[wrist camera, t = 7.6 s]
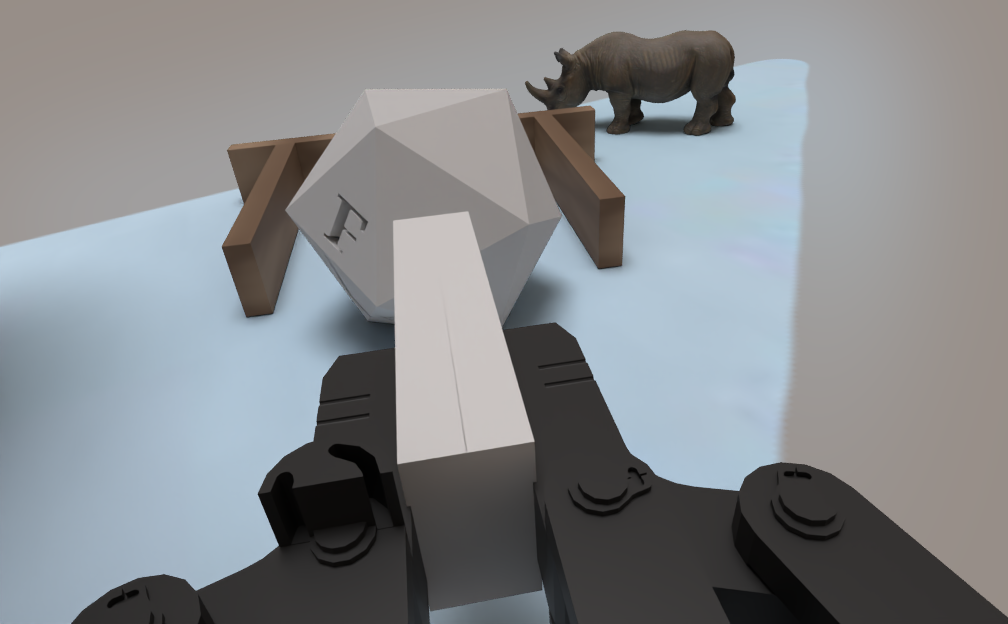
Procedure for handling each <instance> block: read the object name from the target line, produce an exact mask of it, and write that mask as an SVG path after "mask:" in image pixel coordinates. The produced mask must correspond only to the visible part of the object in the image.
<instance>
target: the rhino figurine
mask: <svg viewBox="0 0 1008 624" xmlns="http://www.w3.org/2000/svg"><path fill="white" fill-rule="evenodd" d="M554 55H555V57H556V59H557V61H558V62H560V63H561V64H562V65H563V66H562V74H561V76H560V78H559V79H557V80H553V79H550V78H546V77H545V78H544V81H545V82H546V84H547V86H548V90H541V89H537V88H535V87H533V86H532V85H531V84H530V83H529V82H528V81H526V82H525V85H526V87H527V89H528V91H529V92H530V93H531V95H532V96H534V97H535V98H536V99H538V100H539V101H541V102H542V103H544V104H545V105H546V107H547V110H555V109H564V108H573V107H577V106H578V105H580V104H581V103H582V102H583V101H584V100H585V98H586V96H587V95H588V93H589V91H590V90H595V91H597V90H603V91H606V92H607V93H608V95H609V99H610V103H611V105H612V106H613V109H614V114H615V117H614V120H613V122H612V123H611V124H610V126H609V127H608V129H607V133H609V134H622V133H626V132H628V131H629V129H630V125H632V124H635V123H637V122H639V121H641V120H642V119H643V117H644V114H643V112H642V111H641V110H640V106H641V100H643V101H647V102H652V103H665V102H669V101H672V100H674V99H677V98H679V97H681V96H683V95H685V94H687V93H688V92H689V91H691V92H692V95H693V97H694V98H695V99H696V100H697V105H696V110H695V113H694V116H693V118H692V120H691V121H690V122H689V123H688V124H687V125H686V126H685V127H684V133H685V134H693V135H701V134H704V133H708V132H709V131H710V130H711V125H713V126H724V125H730V124H732V123H733V122H734V118H733V117H732V115H731V107H732V105H733V104H734V103H735V101H736V98H735V95H734V94H733V93H732V91H731V90H730V89H729V88H728V84H729V81H731V80H732V78H733V77H734V70H733V66H734V58H735V56H734V50H733V48H732V46H731V44H730V43H729V42H728V41H727V39H726V38H725V37H723V36H722V35H721V34H719V33H718V32H716V31H686V30H685V31H679V32H675V33H672V34H670V35H667V36H664V37H660V38H655V39H645V38H640V37H637V36H635V35H633V34H629V33H625V32H611V33H608V34H605V35H603V36H601V37H599V38H597V39H595V40H594V41H592V42H591V43H589V44H587V45H586V46H585V47H583V48H582V49H580V50H577V51H576V52H575V53H574V54H572V55H571V54H570V53H568V52H567V51H565V50H564V49H563V48H560V50H559V53H558V52H554ZM710 124H711V125H710Z"/></svg>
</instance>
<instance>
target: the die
mask: <svg viewBox="0 0 1008 624" xmlns="http://www.w3.org/2000/svg"><path fill="white" fill-rule="evenodd" d="M285 211H286V212H287V213H288V215H289V216H290V217H291V219H292V220H293V222H294V223H295V224H296V226H297V227H298V228H299V230H300V231H301V232H302V234H303V235H304V236H305V238H306V239H307V240H308V242H309V243H310V244H311V246H312V247H313V248H314V250H315V251H316V252H317V254H318V255H319V256H320V258H321V259H322V260H323V262H324V263H325V264H326V266H327V267H328V268H329V270H330V271H331V272H332V274H333V275H334V276H335V278H336V279H337V281H338V282H339V283H340V285H341V286H342V287H343V289H344V290H345V291H346V293H347V294H348V295H349V297H350V298H351V299H352V301H353V302H354V303H355V305H356V306H357V307H358V309H359V310H360V311H361V313H362V314H363V315H364V317H365V318H366V319H367V321H372V322H381V323H390V324H395V305H394V246H393V221H394V220H402V219H410V218H418V217H426V216H434V215H442V214H450V213H458V212H466V211H468V212H469V216H470V219H471V223H472V226H473V230H474V233H475V237H476V240H477V243H478V247H479V250H480V254H481V257H482V261H483V264H484V268H485V271H486V275H487V278H488V282H489V285H490V289H491V292H492V296H493V299H494V303H495V306H496V309H497V313H498V316H499V320H500V323H501V327H502V326H503V325H504V323H505V321H506V319H507V317H508V315H509V313H510V312H511V310H512V308H513V306H514V304H515V302H516V301H517V299H518V297H519V295H520V293H521V291H522V289H523V288H524V286H525V284H526V282H527V280H528V278H529V276H530V275H531V273H532V271H533V269H534V267H535V265H536V263H537V262H538V260H539V258H540V256H541V254H542V252H543V250H544V249H545V247H546V245H547V243H548V241H549V239H550V237H551V236H552V234H553V232H554V230H555V228H556V226H557V224H558V223H559V221H560V219H561V217H562V215H561V213H560V211H559V208H558V206H557V204H556V201H555V199H554V197H553V194H552V192H551V190H550V188H549V185H548V183H547V181H546V178H545V176H544V174H543V171H542V169H541V167H540V165H539V162H538V160H537V158H536V155H535V153H534V151H533V148H532V146H531V144H530V142H529V139H528V137H527V135H526V132H525V130H524V128H523V125H522V123H521V121H520V118H519V116H518V114H517V112H516V109H515V107H514V105H513V103H512V100H511V98H510V95H509V93H508V91H507V89H365V90H364V92H363V93H362V95H361V96H360V98H359V100H358V101H357V102H356V104H355V105H354V107H353V108H352V110H351V111H350V113H349V115H348V116H347V118H346V119H345V121H344V122H343V124H342V125H341V127H340V128H339V130H338V131H337V133H336V134H335V136H334V137H333V139H332V140H331V142H330V143H329V145H328V146H327V148H326V149H325V151H324V152H323V154H322V155H321V157H320V158H319V160H318V161H317V163H316V164H315V166H314V167H313V169H312V170H311V172H310V174H309V175H308V177H307V178H306V180H305V181H304V183H303V184H302V186H301V187H300V189H299V190H298V192H297V193H296V195H295V196H294V198H293V199H292V201H291V202H290V204H289V205H288V207H287V208H286V210H285Z"/></svg>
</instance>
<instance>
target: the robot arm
mask: <svg viewBox="0 0 1008 624" xmlns="http://www.w3.org/2000/svg"><path fill="white" fill-rule="evenodd" d="M393 246H394V305H395V348H391V349H384V350H377V351H370V352H363V353H356V354H349V355H342V356H339V357H338V358H337V359H336V361H335V362H334V363H333V365H332V366H331V368H330V369H329V370H328V372H327V373H326V374H325V376H324V377H323V380H322V387H321V394H320V401H319V402H320V406H319V407H318V414H317V426H316V428H315V435H314V442H310V443H307V444H305V445H303V446H302V447H300V448H298V449H296V450H295V451H293V452H291V453H290V454H288V455H286V456H284V457H283V458H282V459H281V460H280V461H279V462H278V463H277V464H276V465H275V466H274V468H273V469H272V470H271V471H270V472H269V473H268V474H267V475H266V477H265V479H264V482H263V484H262V486H261V488H260V490H259V492H258V496H259V499H260V501H261V503H262V506H263V508H264V511H265V513H266V515H267V518H268V520H269V523H270V525H271V527H272V530H273V532H274V535H275V537H276V539H277V542H278V544H279V546H278V547H277V548H275V549H274V550H273V551H272V552H270V553H269V554H268V555H267V556H265V557H264V558H263V559H261V560H259V561H258V562H256V563H254V564H252V565H250V566H249V567H247V568H245V569H243V570H241V571H239V572H236V573H234V574H232V575H230V576H228V577H225V578H223V579H221V580H219V581H217V582H215V583H212V584H210V585H208V586H206V587H204V588H201V589H199V590H197V591H195V590H194V589H193V588H192V587H191V586H190V584H189V583H188V582H187V581H186V580H185V579H181V578H177V577H173V576H169V575H165V574H163V575H156V576H149V577H142V578H137V579H135V580H133V581H131V582H128V583H126V584H124V585H121V586H119V587H117V588H114V589H112V590H110V591H109V592H107V593H106V594H105V595H103V596H102V597H100V598H99V599H98V600H96V601H95V602H94V603H92V604H91V605H89V606H88V607H87V608H85V609H84V610H83V611H82V612H81V613H80V614H79V615H78V616H77V618H76V619H75V620H74V621H73V622H72V623H71V624H430V619H429V608H430V611H435V610H440V609H445V608H450V607H456V606H461V605H466V604H471V603H477V602H482V601H487V600H492V599H498V598H503V597H508V596H513V595H519V594H524V593H529V592H535V591H540V590H542V581H543V585H544V589H545V594H546V598H547V602H548V606H549V618H550V624H1008V617H1007V616H1005V615H1004V614H1003V613H1002V612H1001V611H999V610H998V609H997V608H996V607H995V606H993V605H992V604H991V603H990V602H989V601H987V600H986V599H985V598H984V597H983V596H981V595H980V594H979V593H977V591H975V590H974V589H973V588H972V587H971V586H970V585H968V584H967V583H966V582H965V581H964V580H962V579H961V578H960V577H959V576H958V575H956V574H955V573H954V572H953V571H952V570H950V569H949V568H948V567H947V566H945V565H944V564H943V563H942V562H941V561H940V560H938V559H937V558H936V557H935V556H934V555H932V554H931V553H930V552H929V551H928V550H926V549H925V548H924V547H923V546H922V545H920V544H919V543H918V542H917V541H916V540H915V539H913V538H912V537H911V536H910V535H908V534H907V533H906V532H905V531H904V530H903V529H901V528H900V527H899V526H898V525H896V524H895V523H894V522H893V521H892V520H890V519H889V518H888V517H887V516H886V515H885V514H883V513H882V512H881V511H880V510H878V509H877V508H876V507H875V506H874V505H873V504H871V503H870V502H869V501H868V500H867V499H866V498H864V497H863V496H862V495H861V494H860V493H858V492H857V491H856V490H855V489H854V488H852V487H851V486H849V485H848V484H846V483H845V482H843V481H841V480H840V479H838V478H837V477H835V476H834V475H832V474H830V473H828V472H825V471H822V470H819V469H816V468H813V467H811V466H808V465H804V464H793V463H782V462H780V463H775V464H771V465H766V466H761V467H759V468H758V469H756V470H755V471H753V472H752V473H751V474H749V475H748V476H746V477H745V479H744V481H743V484H742V486H741V488H740V491H733V490H722V489H712V488H702V487H693V486H688V485H682V484H677V483H674V482H671V481H669V480H666V479H663V478H661V477H658V476H657V475H655V474H654V472H653V471H652V470H651V469H650V467H649V466H648V465H647V464H646V463H644V462H643V461H641V460H640V459H638V458H636V457H635V456H633V455H632V454H631V453H630V452H629V450H628V449H627V447H626V445H625V443H624V441H623V439H622V437H621V435H620V433H619V430H618V428H617V426H616V424H615V422H614V420H613V417H612V415H611V413H610V411H609V409H608V407H607V404H606V402H605V400H604V398H603V396H602V394H601V392H600V389H599V387H598V385H597V383H596V381H594V378H593V374H592V372H591V370H590V368H589V366H588V363H586V361H585V357H584V355H583V353H582V351H581V348H580V346H579V344H578V342H577V340H576V338H575V337H574V336H572V335H571V334H570V333H568V332H567V331H566V330H565V329H563V328H562V327H561V326H559V325H558V324H557V323H548V324H541V325H534V326H527V327H520V328H514V329H507V330H502V327H501V323H500V320H499V316H498V313H497V309H496V306H495V303H494V299H493V296H492V292H491V289H490V285H489V282H488V278H487V275H486V271H485V268H484V264H483V261H482V257H481V254H480V250H479V247H478V243H477V240H476V237H475V233H474V230H473V226H472V223H471V219H470V216H469V212H468V211H466V212H458V213H450V214H442V215H434V216H426V217H418V218H410V219H402V220H394V221H393Z"/></svg>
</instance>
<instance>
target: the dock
mask: <svg viewBox="0 0 1008 624" xmlns="http://www.w3.org/2000/svg"><path fill="white" fill-rule="evenodd" d="M518 116H519V118H520V121H521V123H522V125H523V128H524V130H525V132H526V135H527V137H528V139H529V142H530V144H531V146H532V148H533V151H534V153H535V155H536V158H537V160H538V162H539V165H540V167H541V169H542V171H543V174H544V176H545V178H546V181H547V183H548V185H549V188H550V190H551V192H552V194H553V197H554V199H555V200H556V202H557V203H558V205H559V207H560V208H561V210H562V211H563V213H564V215H565V216H566V218H567V219H568V221H569V223H570V224H571V226H572V227H573V229H574V230H575V232H576V234H577V235H578V237H579V238H580V240H581V242H582V243H583V245H584V246H585V248H586V250H587V251H588V253H589V254H590V256H591V258H592V259H593V261H594V262H595V264H596V266H597V267H598V269H599V268H606V267H613V266H621V265H622V255H623V232H624V210H625V196H624V194H623V193H622V192H621V191H620V190H619V189H618V188H617V187H616V186H615V185H614V183H613V182H612V181H611V180H610V179H609V178H608V177H607V176H606V175H605V173H604V172H603V171H602V170H601V169H600V168H599V167H598V166H597V165H596V163H595V162H594V153H595V109H594V108H592V107H591V106H583V107H573V108H564V109H555V110H547V111H537V112H529V113H519V114H518ZM334 136H335V134H326V135H316V136H307V137H299V138H289V139H281V140H271V141H262V142H252V143H243V144H234V145H231V146H230V147H229V149H228V150H227V152H228V154H229V158H230V161H231V164H232V167H233V171H234V174H235V177H236V180H237V183H238V186H239V190H240V193H241V196H242V199H243V202H244V206H243V208H242V209H241V211H240V213H239V215H238V217H237V219H236V221H235V223H234V225H233V226H232V228H231V230H230V232H229V234H228V236H227V238H226V240H225V241H224V243H223V245H222V249H223V252H224V255H225V258H226V261H227V263H228V266H229V269H230V272H231V275H232V278H233V281H234V283H235V286H236V289H237V292H238V295H239V298H240V301H241V303H242V306H243V309H244V312H245V315H246V317H248V316H256V315H263V314H270V313H273V311H274V307H275V304H276V301H277V297H278V294H279V291H280V288H281V284H282V281H283V278H284V274H285V271H286V268H287V264H288V261H289V258H290V255H291V251H292V248H293V245H294V241H295V238H296V235H297V231H298V227H297V226H296V224H295V223H294V222H293V220H292V219H291V217H290V216H289V215H288V213H287V212H286V211H285V210H286V208H287V207H288V205H289V204H290V202H291V201H292V199H293V198H294V196H295V195H296V193H297V192H298V190H299V189H300V187H301V186H302V184H303V183H304V181H305V180H306V178H307V177H308V175H309V174H310V172H311V170H312V169H313V167H314V166H315V164H316V163H317V161H318V160H319V158H320V157H321V155H322V154H323V152H324V151H325V149H326V148H327V146H328V145H329V143H330V142H331V140H332V139H333V137H334Z"/></svg>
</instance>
